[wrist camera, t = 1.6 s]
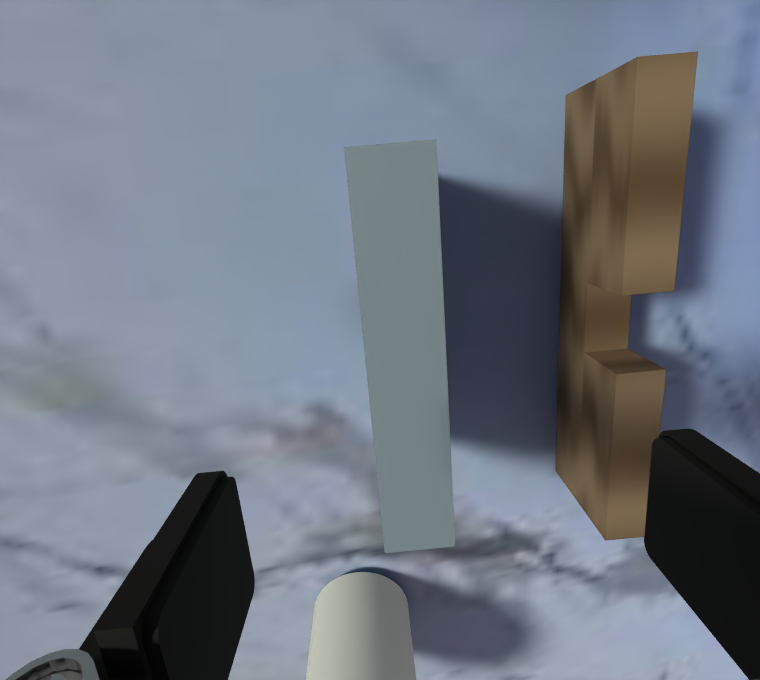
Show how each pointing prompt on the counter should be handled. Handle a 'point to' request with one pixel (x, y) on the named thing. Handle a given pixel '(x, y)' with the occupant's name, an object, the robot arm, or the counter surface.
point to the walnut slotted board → (617, 277)
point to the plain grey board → (404, 337)
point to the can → (361, 631)
